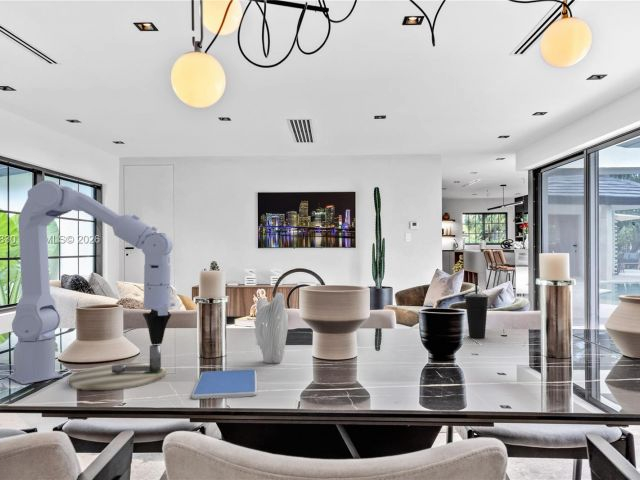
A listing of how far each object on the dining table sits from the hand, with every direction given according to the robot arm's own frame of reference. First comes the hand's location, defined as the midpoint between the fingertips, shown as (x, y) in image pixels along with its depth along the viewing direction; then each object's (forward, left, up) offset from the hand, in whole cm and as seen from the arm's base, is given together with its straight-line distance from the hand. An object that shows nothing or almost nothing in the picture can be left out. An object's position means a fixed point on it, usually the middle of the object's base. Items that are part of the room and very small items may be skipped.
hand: (156, 343), depth 107 cm
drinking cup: (+39, +92, -7) cm, 100 cm away
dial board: (-4, -7, -7) cm, 11 cm away
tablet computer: (+19, +5, -8) cm, 21 cm away
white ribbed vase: (+12, +25, -7) cm, 29 cm away
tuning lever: (-1, -4, -6) cm, 7 cm away
